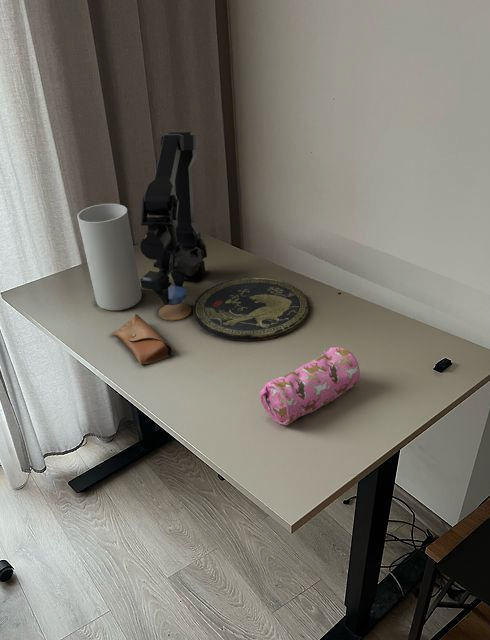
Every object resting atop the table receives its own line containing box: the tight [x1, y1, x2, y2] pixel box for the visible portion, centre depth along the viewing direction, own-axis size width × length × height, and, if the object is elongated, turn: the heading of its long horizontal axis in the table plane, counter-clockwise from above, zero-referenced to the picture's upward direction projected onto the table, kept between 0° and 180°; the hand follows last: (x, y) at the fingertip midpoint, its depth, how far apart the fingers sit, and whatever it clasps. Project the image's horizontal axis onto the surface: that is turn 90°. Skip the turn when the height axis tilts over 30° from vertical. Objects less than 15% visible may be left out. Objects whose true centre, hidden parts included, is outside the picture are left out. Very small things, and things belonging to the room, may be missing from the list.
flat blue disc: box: [159, 285, 188, 305], centre depth 156 cm, size 7×7×2 cm
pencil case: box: [259, 346, 361, 426], centre depth 122 cm, size 21×9×9 cm, turn 128°
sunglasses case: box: [112, 313, 173, 366], centre depth 146 cm, size 18×7×7 cm, turn 32°
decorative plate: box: [192, 277, 309, 342], centre depth 156 cm, size 30×2×30 cm
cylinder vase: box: [76, 203, 143, 312], centre depth 159 cm, size 12×12×25 cm
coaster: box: [158, 302, 192, 322], centre depth 159 cm, size 9×9×1 cm
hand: (173, 298), depth 156 cm, fingers closed on flat blue disc, 7 cm apart
